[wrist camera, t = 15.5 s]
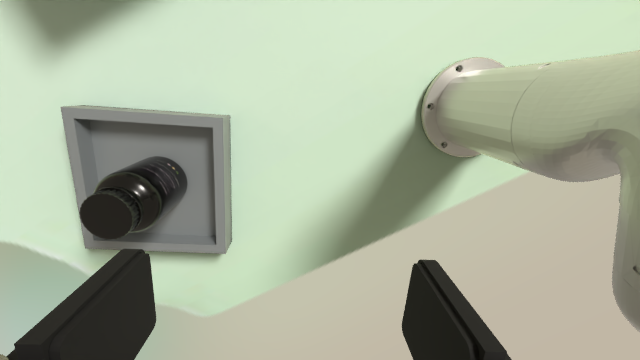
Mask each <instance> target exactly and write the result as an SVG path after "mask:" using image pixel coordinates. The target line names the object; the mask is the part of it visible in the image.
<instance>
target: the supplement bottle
mask: <svg viewBox="0 0 640 360" xmlns="http://www.w3.org/2000/svg"><path fill="white" fill-rule="evenodd" d="M187 185H188V182H187V177H186V174H185V172H184V170H183V169H182V168H181V166H180V165H179V164H177V163H176V162H175V161H173V160H171V159H169V158H166V157H161V156H153V157H149V158H146V159H143V160H141V161H139V162H136V163H134V164H132V165H129V166H127V167H125V168H123V169H120V170H118V171H116V172H114V173H111V174H109V175H108V176H106V177H104V178H103V179H102V180H101V181H100V182H99V183H98V184H97V186H96V188H95V190H94V193H93V194H92V195H90V196H88V197H87V199H85V200H84V202H83V203H82V204H81V207H80V212H79V214H80V219H81V222H82V223H83V225H84V227H85V228H86V229H87V230H88V231H90V233H91V234H94V235H95V236H97V237H99V238H104V239H110V240H112V239H118V238H122V237H123V236H126V235H127V234H128V233H129V232H139V231H143V230H146V229H148V228H150V227H151V226H152V225H154V224H155V223H156V222H157V221H158V220H159V219H160V218H162V217H163V216H164V215H165V214H166V213H167V212H168V211H169V210H170V209H171V208H172V207H173V206H175V205H176V204H177V203H178V202H179V201H180V200H181V199H182V198H183V196H184V195H185V193H186V190H187Z"/></svg>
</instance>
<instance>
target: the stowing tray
mask: <svg viewBox="0 0 640 360" xmlns="http://www.w3.org/2000/svg"><path fill="white" fill-rule="evenodd" d="M61 112H62V118H63V124H64V129H65V135H66V141H67V147H68V152H69V158H70V164H71V170H72V175H73V181H74V187H75V192H76V198H77V204H78V210H79V212H80V207H81V204H82V203H83V202H84V200H85V199H87V197H88V196H90V195H92V194H93V193H94V190H95V188H96V186H97V184H98V183H99V182H100V181H101V180H102V179H103V178H104V177H106V176H108V175H109V174H111V173H114V172H116V171H118V170H120V169H123V168H125V167H127V166H129V165H132V164H134V163H136V162H139V161H141V160H143V159H146V158H149V157H153V156H161V157H166V158H169V159H171V160H173V161H175V162H176V163H177V164H179V165H180V166H181V168H182V169H183V170H184V172H185V174H186V177H187V182H188V185H187V190H186V193H185V195H184V196H183V198H182V199H181V200H180V201H179V202H178V203H177V204H176V205H175V206H173V207H172V208H171V209H170V210H169V211H168V212H167V213H166V214H165V215H164V216H163V217H162V218H160V219H159V220H158V221H157V222H156V223H155V224H154V225H152V226H151V227H150V228H148V229H146V230H143V231H139V232H129V233H128V234H127V235H126V236H123V237H122V238H118V239H112V240H110V239H104V238H99V237H97V236H95V235H94V234H91V233H90V231H88V230H87V229H86V228H85V227H84V225H83V223H82V222H81V227H82V233H83V238H84V244H85V248H88V249H114V250H122V249H143V250H144V251H167V252H194V253H221V254H226V252H227V250H228V248H229V246H230V244H231V242H232V215H231V142H230V116H229V115H215V114H201V113H186V112H172V111H158V110H143V109H129V108H115V107H100V106H86V105H80V106H65V107H61ZM79 215H80V214H79ZM80 221H81V219H80Z"/></svg>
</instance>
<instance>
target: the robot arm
mask: <svg viewBox="0 0 640 360" xmlns="http://www.w3.org/2000/svg"><path fill="white" fill-rule="evenodd" d="M456 67H457V71H456ZM428 104H429V105H430V106H429V108H427V106H428ZM421 119H422V125H423V129H424V131H425V134H426V136H427V137H428V139H429V140H430V142H431V143H432V144H433V145H434V146H435V147H436V148H438V149H439V150H441V151H442V152H444V153H447V154H449V155H452V156H456V157H472V156H476V155H480V154H484V155H487V156H490V157H492V158H495V159H498V160H501V161H503V162H506V163H509V164H512V165H515V166H517V167H520V168H523V169H526V170H529V171H531V172H534V173H537V174H540V175H543V176H546V177H549V178H552V179H556V180H561V181H568V182H585V181H593V180H598V179H603V178H607V177H610V176H614V175H617V174H619V173H620V176H621V186H620V197H619V203H620V207H619V216H618V224H617V233H616V242H615V250H614V263H613V272H612V273H613V274H612V285H613V293H614V296H615V300H616V302H617V305H618V307H619V308H620V310H621V312H622V314H623V315H624V316H625V318H626V319H627V320H628V321H629V322H630V323H631V325H632V326H633V327H635V328H636V329H637V330H638V331H639V332H640V50H638V51H632V52H626V53H619V54H613V55H606V56H598V57H590V58H581V59H573V60H564V61H555V62H547V63H538V64H529V65H520V66H511V67H505V66H504V65H502V64H501V63H499V62H497V61H495V60H493V59H489V58H484V57H473V58H468V59H464V60H461V61H457V62H455V63H453V64H451V65H450V66H448V67H446V68H445V69H444V70H443V71H441V72H440V73H439V74H438V75H437V76H436V78H435V79H434V80H433V81H432V83H431V84H430V86H429V87H428V89H427V91H426V94H425V96H424V99H423V104H422V109H421ZM442 142H443V144H442V145H441V143H442ZM155 323H156V312H155V302H154V292H153V283H152V273H151V264H150V256H149V254H145V252H144V250H143V249H122V250H121V251H120V252H119V253H118V254H116V255H115V256H114V257H113V258H112V259H111V260H110V261H108V262H107V263H106V264H105V265H104V266H103V267H102V268H100V269H99V270H98V271H97V272H96V273H95V274H94V275H92V276H91V277H90V278H89V279H88V280H87V281H86V282H84V283H83V284H82V285H81V286H80V287H79V288H78V289H76V290H75V291H74V292H73V293H72V294H71V295H70V296H69V297H67V298H66V299H65V300H64V301H63V302H62V303H60V304H59V305H58V306H57V307H56V308H55V309H54V310H53V311H51V312H50V313H49V314H48V315H47V316H46V317H44V318H43V319H42V320H41V321H40V322H39V323H38V324H37V325H35V326H34V327H33V328H32V329H31V330H30V331H28V332H27V333H26V334H25V335H24V336H23V337H22V338H20V339H19V340H18V341H17V342H16V343H15V344H14V346H15V350H13V351H12V352H11V353H10V354H9V355H8V356H7V357H6V356H4V355H1V354H0V360H134V359H135V357H136V355H137V354H138V353H139V351H140V349H141V348H142V346H143V345H144V343H145V341H146V340H147V338H148V337H149V335H150V334H151V332H152V330H153V328H154V326H155ZM402 331H403V335H404V337H405V340H406V342H407V345H408V347H409V350H410V352H411V355H412V357H413V360H511V358H510V357H509V356H508V354H507V351H506V350H505V349H504V347H503V346H502V345H501V344H500V342H499V341H498V340H497V338H496V337H495V336H494V335H493V334H492V332H491V331H490V329H489V328H488V327H487V325H486V324H485V323H484V322H483V320H482V319H481V318H480V316H479V315H478V314H477V313H476V311H475V310H474V309H473V307H472V306H471V305H470V303H469V302H468V301H467V300H466V298H465V297H464V296H463V294H462V293H461V292H460V291H459V289H458V288H457V287H456V285H455V284H454V283H453V282H452V280H451V279H450V278H449V276H448V275H447V274H446V272H445V271H444V270H443V269H442V267H441V266H440V265H439V263H438V262H437V261H435V260H419V261H418V263H417V264H414V265H413V268H412V273H411V278H410V284H409V289H408V294H407V300H406V305H405V311H404V316H403V321H402Z"/></svg>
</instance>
